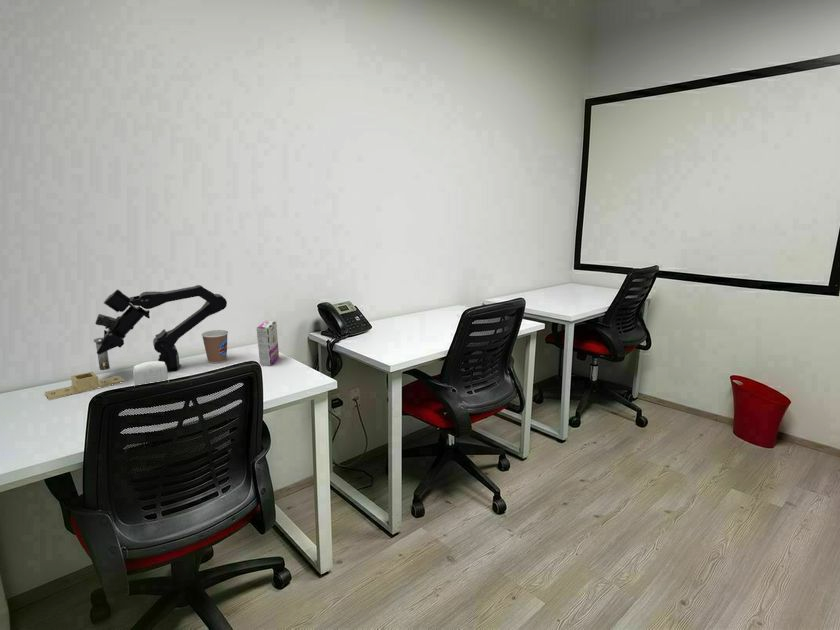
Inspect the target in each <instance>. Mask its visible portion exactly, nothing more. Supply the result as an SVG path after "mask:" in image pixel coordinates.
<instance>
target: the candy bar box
mask: <svg viewBox="0 0 840 630" xmlns="http://www.w3.org/2000/svg"><path fill="white" fill-rule="evenodd" d="M277 327H278V326H277V320H265V321H263V322H262V323H261V324H260V325H258V326H257V327H256V336H257V345H258V346H257V347H258V357H259V365H260V364H261V365H263V366H262V367H264V365H271V366H273V364H275V362H276V361H277V360H278V359H279V358H280V353H279V341H278V330H277Z"/></svg>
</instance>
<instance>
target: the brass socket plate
mask: <svg viewBox="0 0 840 630" xmlns="http://www.w3.org/2000/svg"><path fill="white" fill-rule="evenodd" d="M70 379H71V385H70V386H65V387H62V388H57V389H56V388H55V389H51V390H47V391H44V395H45V397H46V398H47V397H48V398H47V399H48V400H49V401H50V399H51V400H55V398H56V399H59V397H60V398H62V397H63V396H64V397H68V396H72V395H71V394H73V395H76V394H75V393H77V394H79V393H78V392H81V393H83V392H82V391H85V392H88V391H87V390H89V391H92V390H91V389H93V390H96V389H95V388H98V387H103V388H105V387H104V386H107V387H110V386H109V385H111V386H113V385H112V384H116V385H118V384H117V383H120V382H124V383H125V379H123V378H122V377H121V376H119V375H115V376H111V377H106V378H102V379H99V378H98V375H97V374H96V373H95V372H93V371H90V372H85V373H79V374H75V375H71V376H70ZM120 384H121V383H120ZM98 389H99V388H98ZM67 395H68V396H67ZM64 397H63V398H64Z"/></svg>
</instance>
